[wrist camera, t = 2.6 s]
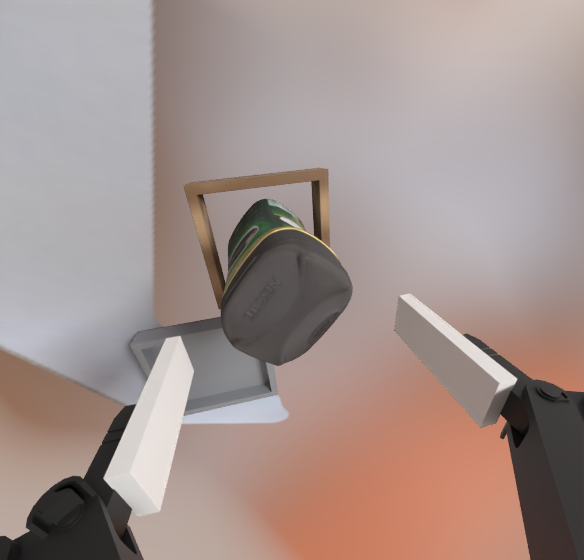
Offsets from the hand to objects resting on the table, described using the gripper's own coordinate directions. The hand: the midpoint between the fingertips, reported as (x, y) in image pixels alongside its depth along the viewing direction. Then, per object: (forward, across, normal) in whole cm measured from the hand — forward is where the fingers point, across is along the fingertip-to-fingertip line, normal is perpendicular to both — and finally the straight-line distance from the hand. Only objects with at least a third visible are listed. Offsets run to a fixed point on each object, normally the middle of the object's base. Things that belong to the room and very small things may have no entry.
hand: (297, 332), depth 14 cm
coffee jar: (+20, 0, 0) cm, 20 cm away
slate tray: (+19, -11, -19) cm, 29 cm away
